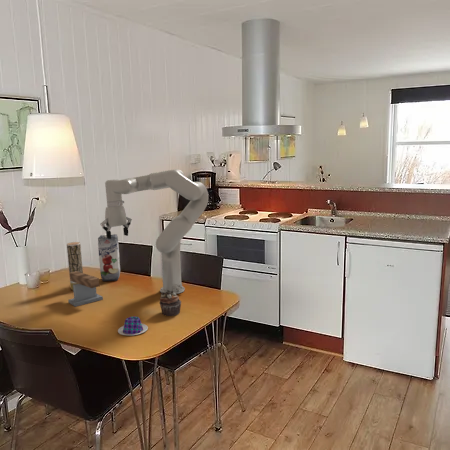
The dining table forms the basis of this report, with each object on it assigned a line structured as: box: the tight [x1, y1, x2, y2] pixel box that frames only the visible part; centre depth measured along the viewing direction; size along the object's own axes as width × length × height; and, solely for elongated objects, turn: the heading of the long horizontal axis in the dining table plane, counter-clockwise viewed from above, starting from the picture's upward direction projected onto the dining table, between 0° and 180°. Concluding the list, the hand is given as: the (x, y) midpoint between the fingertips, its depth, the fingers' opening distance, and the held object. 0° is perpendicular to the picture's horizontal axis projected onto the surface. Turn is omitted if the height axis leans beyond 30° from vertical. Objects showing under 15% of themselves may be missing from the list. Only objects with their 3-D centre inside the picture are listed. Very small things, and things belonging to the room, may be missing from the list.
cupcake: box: [159, 290, 182, 317], centre depth 193 cm, size 10×10×10 cm
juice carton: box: [97, 233, 121, 282], centre depth 245 cm, size 9×10×27 cm
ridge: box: [67, 284, 104, 308], centre depth 212 cm, size 8×14×9 cm, turn 131°
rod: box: [68, 271, 100, 288], centre depth 211 cm, size 20×4×4 cm, turn 48°
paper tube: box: [66, 241, 84, 291], centre depth 230 cm, size 7×7×25 cm
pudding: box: [117, 315, 149, 336], centre depth 176 cm, size 12×12×5 cm
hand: (117, 237), depth 223 cm, fingers open, 9 cm apart
